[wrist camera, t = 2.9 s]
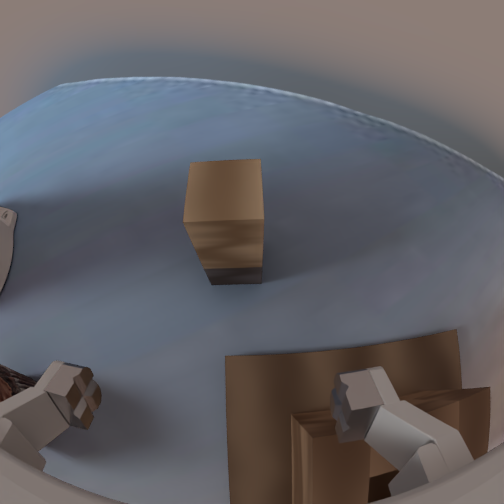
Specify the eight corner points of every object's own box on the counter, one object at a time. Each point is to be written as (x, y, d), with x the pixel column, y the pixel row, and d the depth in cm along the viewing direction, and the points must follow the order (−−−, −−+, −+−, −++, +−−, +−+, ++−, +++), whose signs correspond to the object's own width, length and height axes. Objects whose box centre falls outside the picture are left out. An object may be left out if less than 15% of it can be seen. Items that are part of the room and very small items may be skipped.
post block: (236, 558, 13) (226, 621, 4) (227, 356, 23) (205, 343, 13) (442, 512, 13) (498, 538, 4) (448, 332, 23) (519, 302, 13)
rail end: (211, 284, 25) (182, 222, 15) (212, 240, 27) (190, 162, 17) (261, 283, 25) (264, 219, 15) (259, 238, 27) (260, 159, 17)
